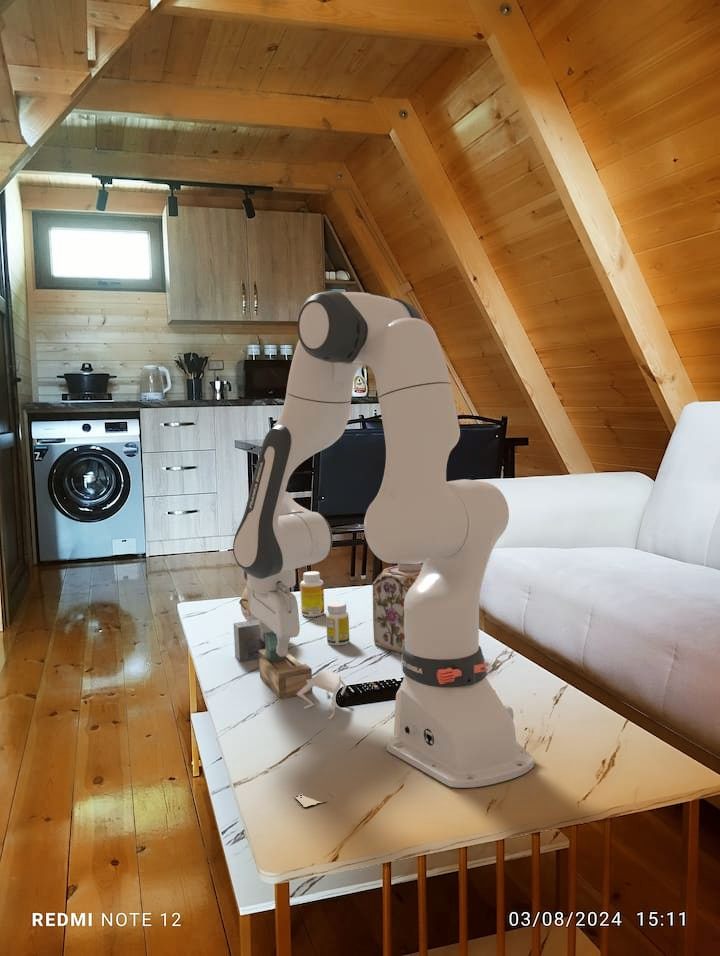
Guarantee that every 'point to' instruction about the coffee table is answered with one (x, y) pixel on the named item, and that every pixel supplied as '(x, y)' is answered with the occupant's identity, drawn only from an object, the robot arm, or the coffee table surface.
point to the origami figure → (324, 687)
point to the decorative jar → (392, 604)
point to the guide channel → (285, 677)
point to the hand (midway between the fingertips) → (274, 648)
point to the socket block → (248, 640)
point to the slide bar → (272, 652)
